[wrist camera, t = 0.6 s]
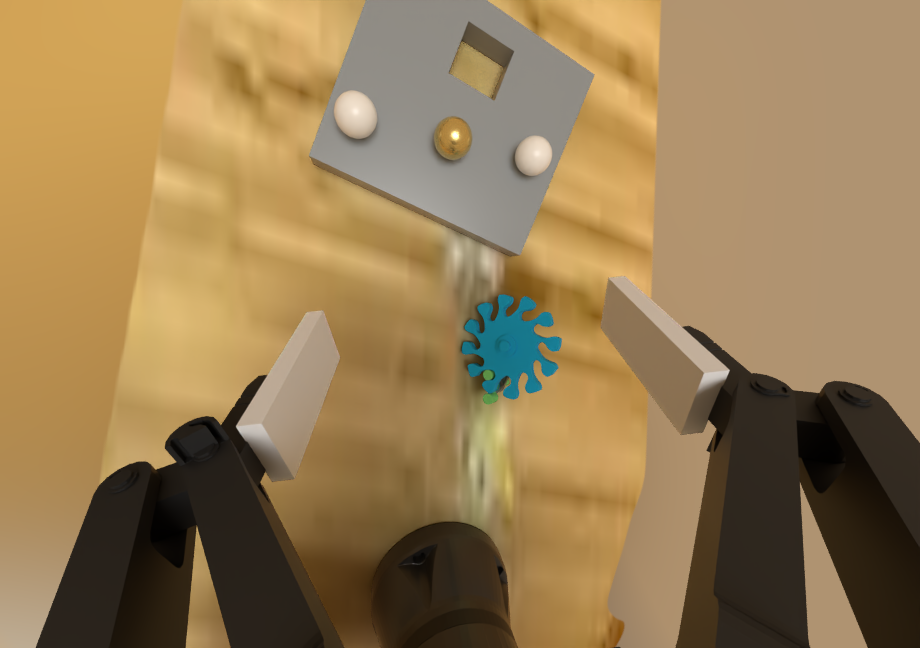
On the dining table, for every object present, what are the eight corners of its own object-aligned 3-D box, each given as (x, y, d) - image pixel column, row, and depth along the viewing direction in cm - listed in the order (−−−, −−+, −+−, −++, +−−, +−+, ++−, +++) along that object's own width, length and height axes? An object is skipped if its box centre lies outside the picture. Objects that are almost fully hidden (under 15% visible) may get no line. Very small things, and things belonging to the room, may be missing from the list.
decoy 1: (533, 185, 32) (550, 177, 29) (504, 169, 31) (518, 159, 28) (546, 153, 32) (564, 141, 29) (517, 136, 31) (533, 122, 28)
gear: (482, 277, 33) (578, 321, 29) (507, 284, 39) (591, 323, 34) (440, 375, 36) (522, 431, 31) (468, 370, 41) (542, 418, 36)
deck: (510, 256, 35) (519, 255, 33) (314, 164, 30) (308, 155, 28) (579, 88, 34) (594, 74, 32) (389, -39, 29) (390, -67, 27)
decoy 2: (369, 151, 29) (368, 137, 26) (330, 132, 28) (324, 115, 25) (382, 115, 28) (383, 96, 25) (344, 94, 28) (340, 72, 24)
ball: (458, 171, 31) (467, 160, 27) (425, 153, 30) (431, 140, 27) (472, 136, 30) (483, 121, 27) (439, 118, 29) (446, 100, 26)
